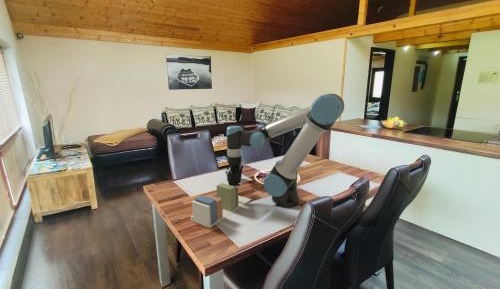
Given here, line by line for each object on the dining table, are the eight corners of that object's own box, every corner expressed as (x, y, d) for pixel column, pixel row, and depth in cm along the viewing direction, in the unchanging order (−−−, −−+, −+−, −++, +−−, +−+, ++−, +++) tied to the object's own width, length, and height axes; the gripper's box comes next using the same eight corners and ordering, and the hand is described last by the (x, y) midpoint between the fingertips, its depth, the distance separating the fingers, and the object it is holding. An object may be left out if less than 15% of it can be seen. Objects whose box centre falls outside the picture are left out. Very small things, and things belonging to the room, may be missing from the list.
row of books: (251, 201, 141) (251, 182, 138) (210, 230, 113) (208, 207, 111) (234, 196, 147) (233, 178, 145) (191, 222, 120) (189, 200, 117)
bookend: (238, 205, 133) (238, 188, 131) (235, 208, 131) (234, 190, 128) (225, 201, 138) (224, 184, 136) (221, 203, 136) (220, 186, 133)
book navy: (217, 221, 118) (216, 199, 116) (210, 225, 115) (209, 203, 112) (202, 216, 123) (201, 195, 121) (196, 220, 120) (194, 198, 117)
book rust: (222, 216, 122) (222, 198, 120) (217, 220, 119) (216, 201, 117) (210, 212, 127) (209, 194, 124) (204, 215, 123) (203, 197, 121)
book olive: (235, 208, 130) (235, 186, 128) (231, 211, 127) (230, 189, 124) (222, 204, 135) (221, 183, 132) (217, 207, 132) (216, 185, 129)
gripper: (236, 151, 140) (236, 191, 145) (220, 157, 129) (222, 199, 135) (247, 153, 136) (247, 194, 141) (232, 159, 125) (233, 203, 131)
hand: (235, 197), depth 138 cm, fingers closed
